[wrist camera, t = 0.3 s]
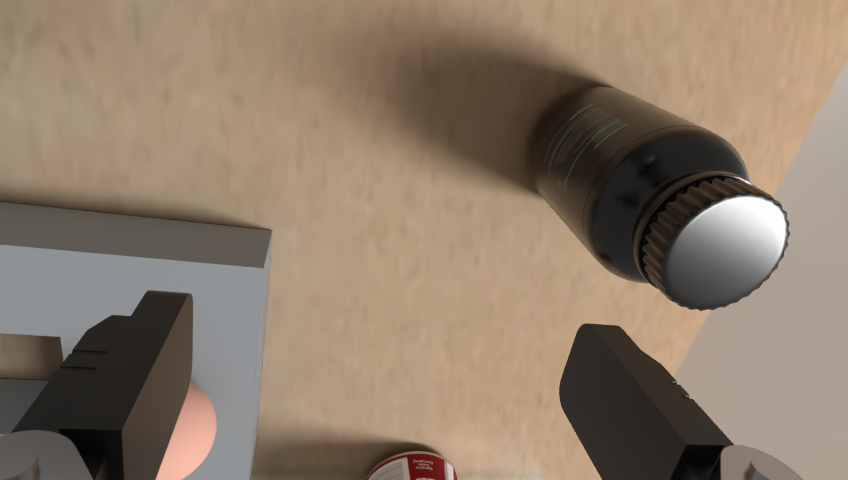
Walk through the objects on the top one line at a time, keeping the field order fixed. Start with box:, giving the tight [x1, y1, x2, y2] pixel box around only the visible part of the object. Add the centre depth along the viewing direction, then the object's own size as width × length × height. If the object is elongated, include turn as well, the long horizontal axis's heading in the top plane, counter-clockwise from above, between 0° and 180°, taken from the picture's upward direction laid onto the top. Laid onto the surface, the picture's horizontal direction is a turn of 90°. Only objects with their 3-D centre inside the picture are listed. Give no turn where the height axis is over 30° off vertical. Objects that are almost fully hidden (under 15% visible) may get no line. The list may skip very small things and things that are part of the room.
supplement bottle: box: [527, 86, 790, 311], centre depth 24 cm, size 7×7×12 cm
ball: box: [156, 382, 217, 480], centre depth 25 cm, size 5×5×5 cm
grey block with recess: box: [0, 202, 272, 480], centre depth 28 cm, size 16×17×4 cm
